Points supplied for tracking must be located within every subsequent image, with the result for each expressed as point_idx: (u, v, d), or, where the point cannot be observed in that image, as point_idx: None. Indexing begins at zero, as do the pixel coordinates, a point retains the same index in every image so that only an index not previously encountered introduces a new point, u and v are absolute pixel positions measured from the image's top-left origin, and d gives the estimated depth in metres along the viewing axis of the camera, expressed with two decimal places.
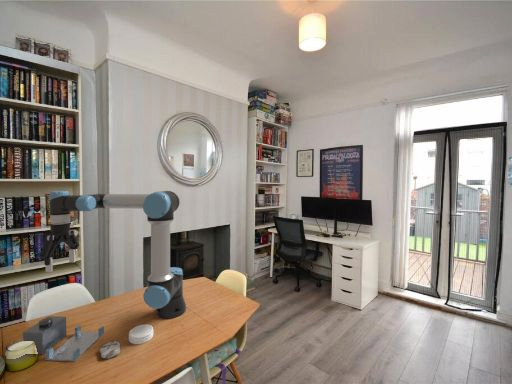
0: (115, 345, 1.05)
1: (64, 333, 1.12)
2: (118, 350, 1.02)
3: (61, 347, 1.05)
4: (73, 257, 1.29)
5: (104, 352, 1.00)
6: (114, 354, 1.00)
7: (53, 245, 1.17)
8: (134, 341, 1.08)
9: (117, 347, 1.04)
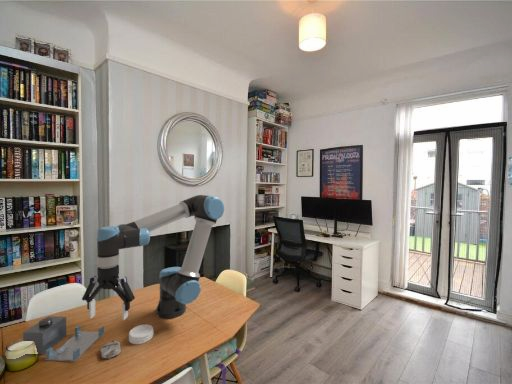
0: (115, 345, 1.05)
1: (64, 333, 1.12)
2: (118, 350, 1.02)
3: (61, 347, 1.05)
4: None
5: (104, 352, 1.00)
6: (114, 354, 1.00)
7: (96, 289, 1.02)
8: (134, 341, 1.08)
9: (117, 347, 1.04)
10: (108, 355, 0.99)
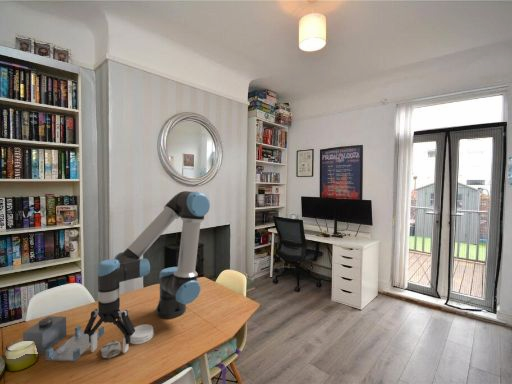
0: (116, 345, 1.05)
1: (64, 333, 1.12)
2: (119, 350, 1.02)
3: (61, 347, 1.05)
4: None
5: (105, 351, 1.00)
6: (115, 354, 1.00)
7: (97, 322, 1.02)
8: (134, 341, 1.08)
9: (118, 347, 1.04)
10: (108, 355, 0.99)
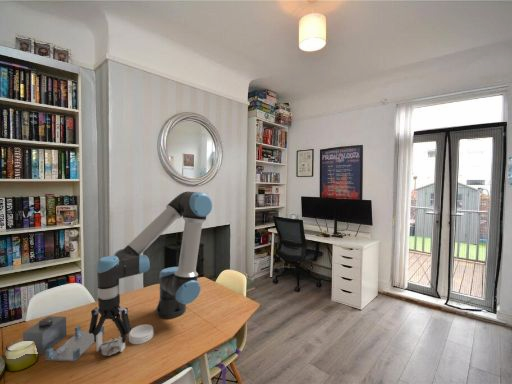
0: (116, 342, 1.05)
1: (64, 333, 1.12)
2: (119, 347, 1.02)
3: (61, 347, 1.05)
4: None
5: (105, 349, 1.01)
6: (115, 351, 1.00)
7: None
8: (134, 341, 1.08)
9: (118, 344, 1.04)
10: (108, 352, 0.99)
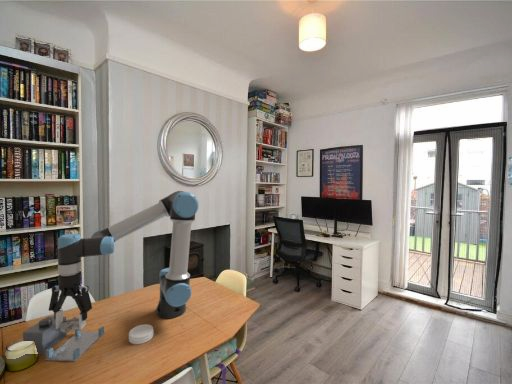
0: (76, 321, 1.05)
1: (64, 333, 1.12)
2: (78, 325, 1.02)
3: (61, 347, 1.05)
4: None
5: (63, 326, 1.01)
6: (73, 328, 1.00)
7: None
8: (134, 341, 1.08)
9: (78, 323, 1.04)
10: (66, 329, 0.99)
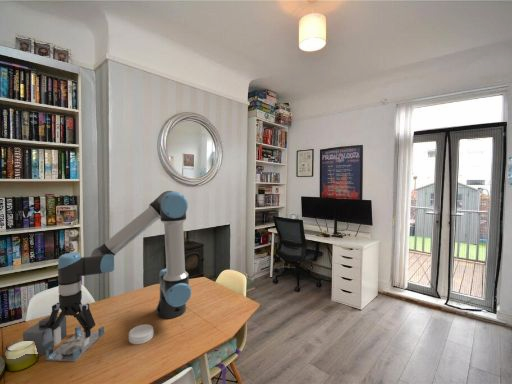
0: (77, 341, 1.05)
1: (64, 333, 1.12)
2: (79, 346, 1.03)
3: None
4: None
5: (64, 348, 1.01)
6: None
7: None
8: (134, 341, 1.08)
9: (79, 343, 1.05)
10: (67, 351, 0.99)
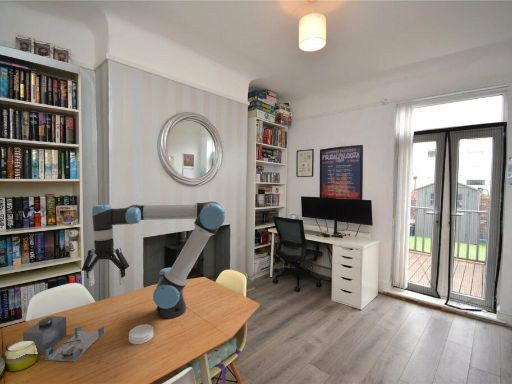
0: (78, 341, 1.06)
1: (64, 333, 1.12)
2: (80, 346, 1.03)
3: None
4: None
5: (65, 348, 1.01)
6: None
7: None
8: (134, 341, 1.08)
9: (79, 343, 1.05)
10: (68, 351, 0.99)
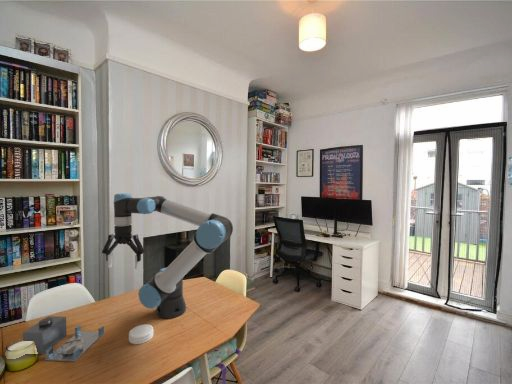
0: (78, 341, 1.06)
1: (64, 333, 1.12)
2: (80, 346, 1.03)
3: (61, 347, 1.05)
4: None
5: (65, 348, 1.01)
6: None
7: None
8: (134, 341, 1.08)
9: (80, 343, 1.05)
10: (69, 351, 1.00)
